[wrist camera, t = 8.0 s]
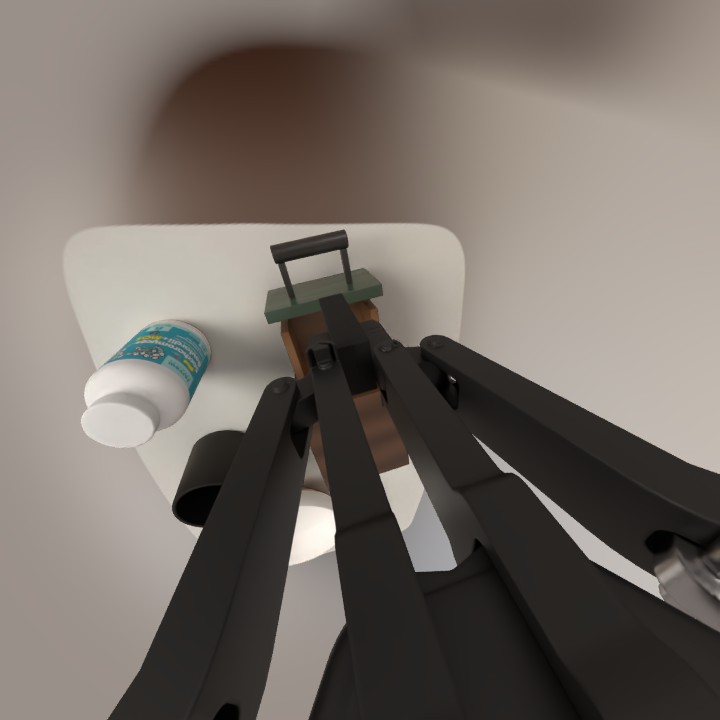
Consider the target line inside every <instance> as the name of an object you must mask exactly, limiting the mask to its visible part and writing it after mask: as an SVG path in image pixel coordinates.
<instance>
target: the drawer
mask: <svg viewBox="0 0 720 720" xmlns="http://www.w3.org/2000/svg"><path fill="white" fill-rule="evenodd" d="M346 248H348V238H347V234H346V231H345V230H340V231H335V232H331V233H326V234H322V235H317V236H313V237H308V238H303V239H299V240H294V241H290V242H285V243H281V244H276V245H272V246H270V249H271V252H272V256H273V259H274V261H275V263H276V264H278V265H279V268H280V271H281V274H282V278H283V281H284V284H285V287H283V288H278V289H274V290H270V291H268V294H267V300H266V306H265V312H264V314H265V316H266V319H267V321H268V324H271V323H275V322H279V321H281V336H282V339H283V341H284V344H285V347H286V349H287V352H288V355H289V357H290V360H291V363H292V365H293V368H294V371H295V373H296V376H297V379H298V380H300V379H302V378H303V377H305V376H306V375H307V374H308V373H309V372H310V366H309V363H308V360H307V357H306V354H305V351H306V349H307V348H308V340H309V338H310V336H313V335H317V334H321V333H325V332H327V330H326V326H325V322H324V318H323V315H322V311H321V307H320V303H319V300H318V299H319V298H323V297H327V296H331V295H335V294H339V293H342V295H343V296H344V298H345V300H346V301H347V303H348V305H349V307H350V308H351V310H352V312H353V313H354V315H355V317H356V318H357V320H358V322H359V323H360V322H364V321H368V320H372V319H373V320H375V321H378V322H379V316H378V309H377V308H376V307H375V305H374V304H373V303H372V302H371V300H370V298H374V297H378V296H382V295H383V291H382V284H381V283H380V282H379V281H378V280H377V279H376V278H375V277H373V276H372V275H371V274H370V273H369V272H368V271H367V270H366V269H365V268H362V269H358V270H354V271H351V270H350V265H349V260H348V254H347V249H346ZM335 250H340V254H341V259H342V264H343V269H344V273H341V274H337V275H333V276H329V277H324V278H320V279H316V280H312V281H308V282H303V283H299V284H295V285H292V284H291V281H290V278H289V275H288V271H287V268H286V265H285V262H287V261H292V260H296V259H300V258H305V257H309V256H314V255H318V254H322V253H327V252H331V251H335ZM376 383H377V382H376ZM378 387H379V386H378V384H377V388H378Z"/></svg>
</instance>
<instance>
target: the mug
mask: <svg viewBox="0 0 720 720" xmlns="http://www.w3.org/2000/svg"><path fill="white" fill-rule="evenodd" d="M244 435H245V434H243V433H240V432H235V431H218V432H214V433H210V434H208V435H206V436H204V437H202V438H201V439H200V440H199V441H197V442H196V444H195V445H194V446H193V448H192V451H191V454H190V456H189V459H188V462H187V465H186V468H185V470H184V473H183V476H182V479H181V482H180V484H179V487H178V490H177V493H176V496H175V498H174V501H173V505H172V511H173V514H174V515H175V517H176V518H177V519H178V520H180V521H181V522H183V523H185V524H187V525H191V526H195V527H202V528H203V527H204V525H205V523H206V520H207V518H208V516H209V514H210V511H211V509H212V507H213V505H214V502H215V500H216V498H217V496H218V493H219V491H220V489H221V487H222V484H223V482H224V480H225V478H226V475H227V473H228V471H229V469H230V466H231V464H232V462H233V460H234V457H235V455H236V453H237V451H238V448H239V446H240V444H241V442H242V439H243V437H244Z"/></svg>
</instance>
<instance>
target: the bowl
mask: <svg viewBox="0 0 720 720" xmlns="http://www.w3.org/2000/svg"><path fill="white" fill-rule="evenodd" d="M335 533H336V526H335V519H334V513H333V507H332V501H331V497H330V496H328V495H327V494H324V493H322V492H320V491H317V490H314V489H308V488H302V493H301V499H300V504H299V510H298V515H297V521H296V526H295V532H294V537H293V543H292V549H291V554H290V560H289V565H288V566H290V565H295V564H299V563H302V562H305V561H308V560H311V559H313V558H315V557H318V556H320V555H322V554H323V553H325V552H326V551H328V550H330V549H331V548H332V547H333V546H335V538H334V535H335Z"/></svg>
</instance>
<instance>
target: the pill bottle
mask: <svg viewBox="0 0 720 720" xmlns="http://www.w3.org/2000/svg"><path fill="white" fill-rule="evenodd" d="M210 357H211V349H210V345H209V343H208V341H207V339H206V337H205V336H204V335H203V334H202V333H201V332H200V331H199V330H198V329H196V328H195V327H193V326H191V325H189V324H187V323H184V322H180V321H175V320H161V321H157V322H154V323H151V324H149V325H148V326H146V327H145V328H143V329H142V330H141V331H140V332H139V333H138V334H137V335H136V336H134V337H133V338H132V339H131V340H130V341H129V342H128V343H127V344H126V345H125V346H123V347H122V348H121V349H120V350H119V351H118V352H117V353H116V354H115V355H114V356H112V357H111V358H110V359H109V360H108V361H107V362H106V363H105V364H104V365H102V366H101V367H100V368H99V369H98V370H97V371H96V372H95V373H94V374H93V375H92V376H91V377H90V379H89V380H88V382H87V384H86V386H85V391H84V397H85V402H86V405H87V407H88V409H87V410H86V411H85V412H84V414H83V415H82V418H81V425H82V428H83V430H84V432H85V433H86V434H87V435H88V436H89V437H90V438H92V439H93V440H95V441H96V442H99V443H101V444H104V445H107V446H111V447H116V448H131V447H136V446H139V445H142V444H144V443H146V442H147V441H149V440H150V439H151V438H152V437H153V435H154V433H155V432H156V431H160V430H163V429H165V428H167V427H169V426H171V425H173V424H174V423H176V422H177V421H178V420H179V419H180V418H181V417H182V416H183V414H184V413H185V411H186V409H187V407H188V405H189V403H190V401H191V399H192V397H193V395H194V392H195V390H196V388H197V386H198V384H199V382H200V380H201V378H202V376H203V374H204V372H205V370H206V368H207V365H208V363H209V361H210Z"/></svg>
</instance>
